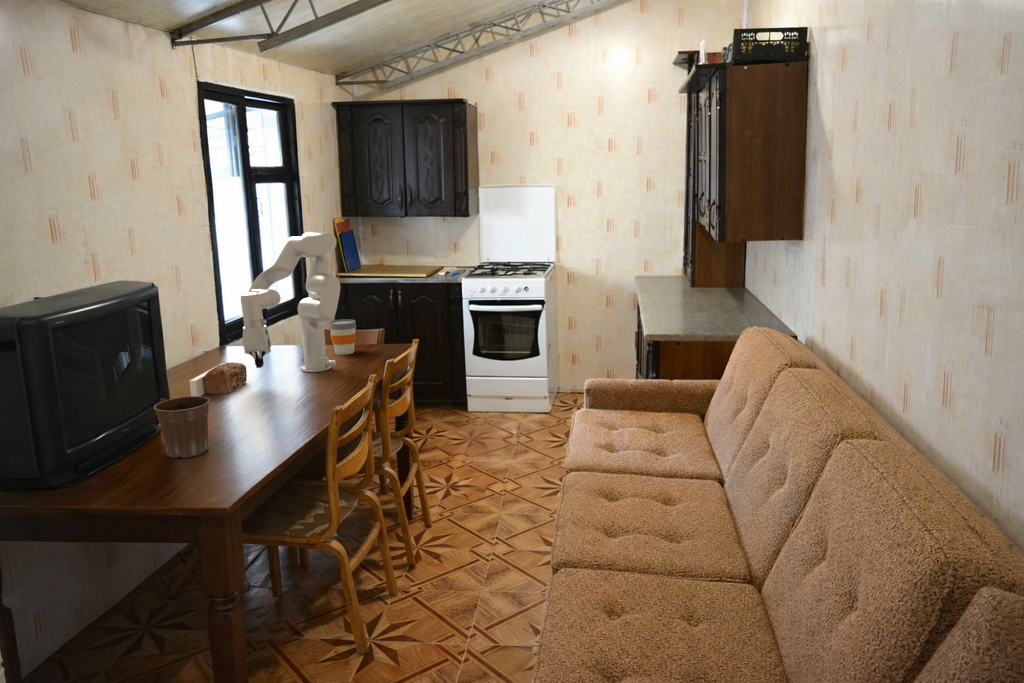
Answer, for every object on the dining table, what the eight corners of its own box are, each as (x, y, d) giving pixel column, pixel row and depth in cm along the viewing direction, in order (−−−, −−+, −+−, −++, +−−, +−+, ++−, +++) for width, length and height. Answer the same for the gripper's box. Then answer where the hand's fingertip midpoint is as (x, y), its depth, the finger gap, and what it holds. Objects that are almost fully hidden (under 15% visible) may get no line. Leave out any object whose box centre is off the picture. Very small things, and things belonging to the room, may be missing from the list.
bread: (228, 395, 320) (226, 370, 318) (203, 395, 321) (200, 370, 319) (248, 382, 338) (246, 359, 336) (224, 382, 339) (222, 359, 337)
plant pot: (149, 454, 254) (143, 405, 250) (196, 440, 266) (191, 393, 263) (177, 465, 244) (171, 413, 240) (225, 449, 256) (220, 400, 253)
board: (229, 379, 343) (227, 363, 342) (197, 398, 316) (195, 380, 314) (223, 379, 343) (221, 363, 342) (191, 398, 316) (189, 380, 315)
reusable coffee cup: (326, 354, 384) (324, 323, 381) (339, 349, 396) (337, 318, 393) (350, 356, 380) (348, 324, 377) (362, 350, 392) (360, 319, 389)
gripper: (275, 320, 329) (280, 363, 334) (239, 321, 331) (245, 364, 335) (268, 325, 322) (274, 369, 327) (232, 326, 324) (238, 370, 328)
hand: (259, 366), depth 331 cm, fingers closed
